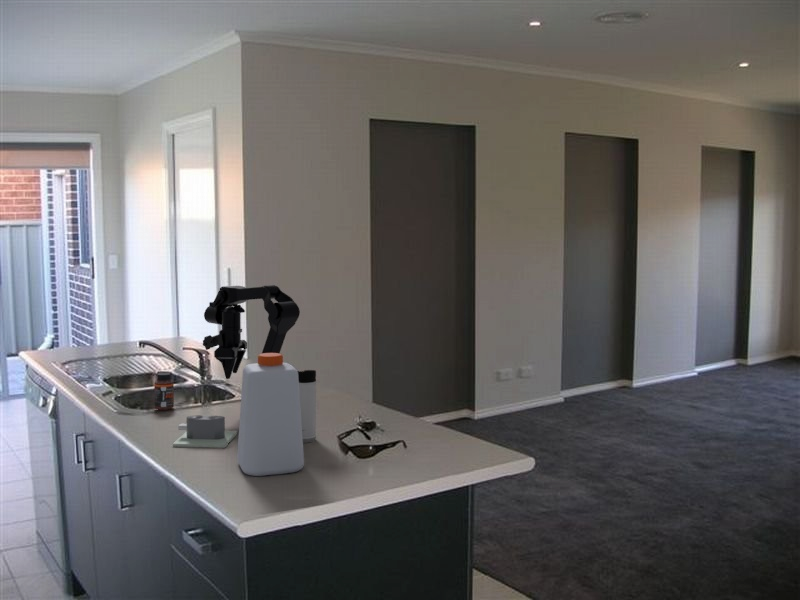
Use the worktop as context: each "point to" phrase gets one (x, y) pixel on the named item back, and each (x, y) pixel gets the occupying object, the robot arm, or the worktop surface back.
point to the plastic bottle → (270, 418)
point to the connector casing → (204, 427)
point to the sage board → (205, 441)
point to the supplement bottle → (164, 392)
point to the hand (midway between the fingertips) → (231, 375)
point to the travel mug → (308, 404)
